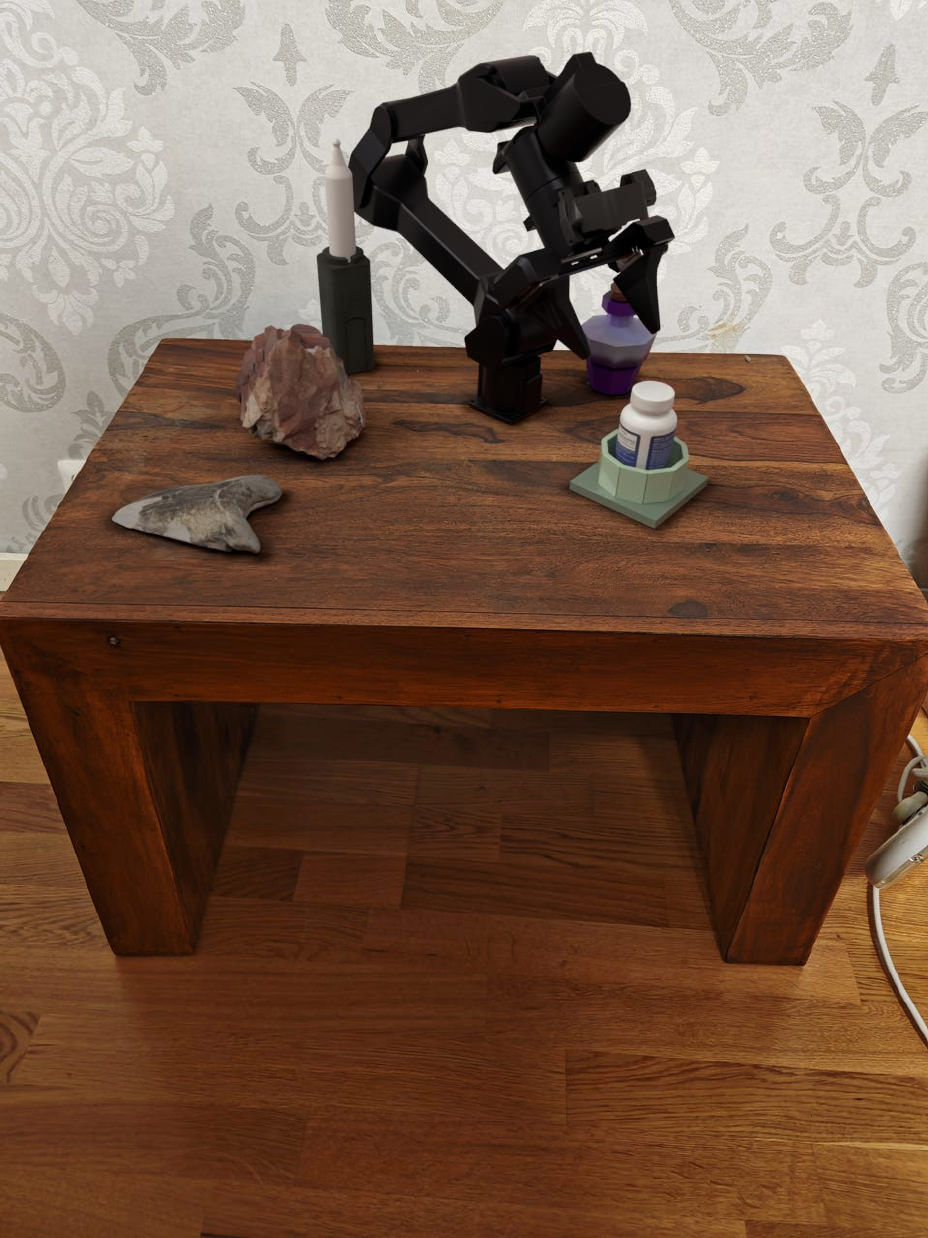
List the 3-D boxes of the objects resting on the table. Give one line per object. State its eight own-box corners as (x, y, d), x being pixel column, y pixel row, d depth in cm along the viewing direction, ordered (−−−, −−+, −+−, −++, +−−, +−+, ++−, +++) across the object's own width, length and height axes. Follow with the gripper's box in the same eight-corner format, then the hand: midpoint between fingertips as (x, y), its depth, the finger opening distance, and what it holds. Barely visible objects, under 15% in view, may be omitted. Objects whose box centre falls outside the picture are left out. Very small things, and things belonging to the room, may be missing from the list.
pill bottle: (666, 466, 98) (683, 379, 92) (665, 496, 94) (682, 407, 88) (613, 460, 99) (626, 373, 93) (609, 490, 95) (623, 401, 89)
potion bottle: (613, 361, 118) (626, 263, 110) (663, 390, 113) (681, 290, 105) (558, 379, 114) (568, 279, 106) (608, 410, 109) (622, 308, 101)
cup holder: (568, 489, 97) (573, 450, 94) (623, 450, 103) (629, 412, 100) (654, 529, 92) (662, 489, 89) (707, 485, 98) (715, 447, 95)
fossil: (122, 457, 93) (274, 451, 92) (138, 493, 97) (285, 488, 95) (86, 538, 86) (251, 532, 84) (105, 574, 89) (264, 569, 88)
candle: (337, 377, 113) (321, 148, 96) (321, 359, 116) (303, 134, 100) (377, 368, 115) (368, 142, 98) (361, 351, 118) (349, 129, 101)
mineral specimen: (280, 500, 102) (243, 397, 109) (391, 450, 102) (346, 349, 109) (236, 439, 92) (197, 329, 98) (359, 383, 92) (312, 276, 98)
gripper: (521, 158, 79) (601, 335, 80) (677, 122, 88) (747, 282, 88) (459, 228, 88) (531, 385, 89) (605, 190, 97) (669, 333, 98)
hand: (622, 344), depth 91 cm, fingers open, 9 cm apart
